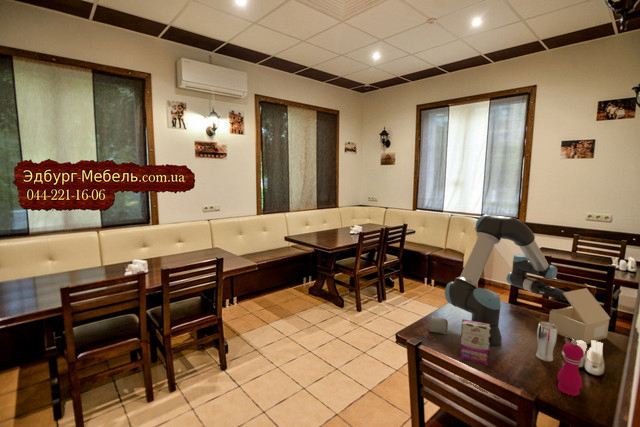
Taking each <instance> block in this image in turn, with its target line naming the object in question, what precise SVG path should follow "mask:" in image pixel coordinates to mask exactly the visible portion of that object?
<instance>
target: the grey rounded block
mask: <svg viewBox="0 0 640 427" xmlns="http://www.w3.org/2000/svg"><path fill="white" fill-rule="evenodd" d="M429 324H430V325H429V332H431V333H436V334H437V333H438V334H443V335H445V334H446V335H447V333H448V330H449V329H448V327H449V326H448V325H449V321H448V320H447V319H446V318H442V317H437V316H433V315H431V316H430V322H429Z"/></svg>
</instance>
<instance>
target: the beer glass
mask: <svg viewBox="0 0 640 427" xmlns="http://www.w3.org/2000/svg"><path fill="white" fill-rule="evenodd" d="M557 339H558V334H557V326H555V325H554V324H551V323H549V321H547V322H546V321H539V322H538V326H537V332H536V340H537V350H536V354H535V356H536V357H537V358H538V359H539V360H542V361H544V362H548V363H549V362H553V361H554V356H553V354H554V348H555V347H556V344H557Z"/></svg>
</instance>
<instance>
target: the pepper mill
mask: <svg viewBox="0 0 640 427" xmlns="http://www.w3.org/2000/svg"><path fill="white" fill-rule="evenodd" d="M562 352H563V360H564V363H563V366H562V367H561V369H560V370H559V371H558V373H557V381H558V383H557V389H558V390H559V391H560V392H561V393H562V392H563V393H562V394H564V393H566V394H568V395H567V396H569V395H574V396H576V395H579V396H580V392H581V391H580V389H581V388H582V386H583V380H582V379H583V378H582V376H581V374H580V371H579V366H580V365H581V363H582V360H581V359H583V358H584V356H585V352H584V349H583V348H582V347H581V346H580V345H579V344H578V343H577V342H576V341H575V340H570V342H567V343H565V344H564V345H563V347H562ZM566 394H565V395H566Z"/></svg>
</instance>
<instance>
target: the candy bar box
mask: <svg viewBox="0 0 640 427" xmlns="http://www.w3.org/2000/svg"><path fill="white" fill-rule="evenodd" d="M460 331H461V334H460V349H459V350H460V352H459V359H461V360H465V361H468V362H469V361H470V362H472V363H473V362H474V363H476V364H477V363H478V364H482V365H486V366H488V365H489V359H490V347H491V346H490V333H491V328H490V324H487V323H482V322H476V321H471V319H463V318H462V319H461V330H460Z"/></svg>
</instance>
